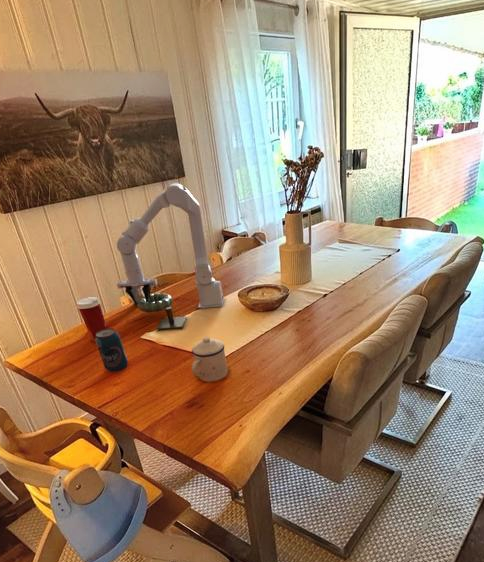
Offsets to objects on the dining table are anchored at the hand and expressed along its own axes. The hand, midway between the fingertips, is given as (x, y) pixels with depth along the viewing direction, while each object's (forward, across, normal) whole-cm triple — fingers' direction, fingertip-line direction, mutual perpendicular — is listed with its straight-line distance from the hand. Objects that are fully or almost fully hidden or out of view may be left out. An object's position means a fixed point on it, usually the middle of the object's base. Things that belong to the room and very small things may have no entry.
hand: (143, 304), depth 166 cm
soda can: (+4, +2, -43) cm, 43 cm away
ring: (0, +5, 0) cm, 5 cm away
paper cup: (+4, -11, -20) cm, 23 cm away
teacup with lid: (+4, +32, -53) cm, 62 cm away
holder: (+4, +13, -14) cm, 19 cm away
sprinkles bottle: (+4, -5, +12) cm, 14 cm away
